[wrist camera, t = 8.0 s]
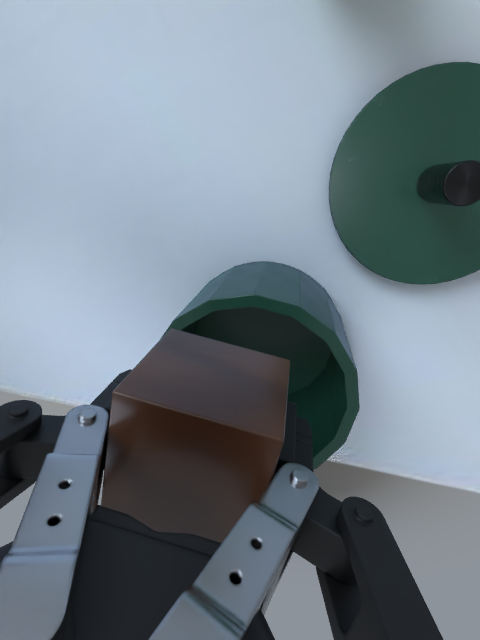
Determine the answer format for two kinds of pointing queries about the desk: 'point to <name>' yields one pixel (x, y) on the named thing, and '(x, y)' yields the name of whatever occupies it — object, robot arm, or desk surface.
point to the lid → (413, 177)
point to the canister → (285, 340)
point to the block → (195, 434)
